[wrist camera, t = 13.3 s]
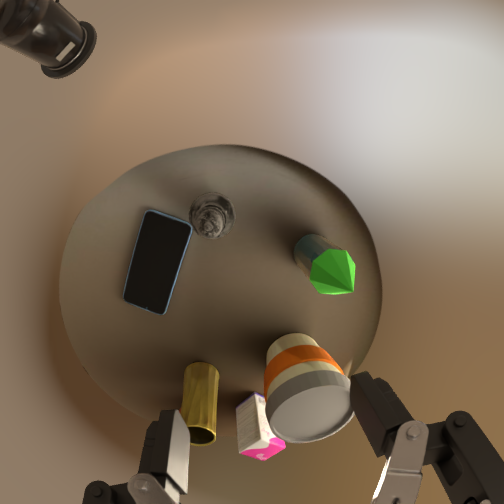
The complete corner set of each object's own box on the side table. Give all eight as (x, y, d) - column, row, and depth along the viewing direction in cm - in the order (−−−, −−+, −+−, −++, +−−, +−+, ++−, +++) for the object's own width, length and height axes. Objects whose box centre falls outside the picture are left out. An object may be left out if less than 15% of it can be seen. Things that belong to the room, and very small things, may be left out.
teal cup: (291, 237, 40) (308, 254, 32) (327, 230, 40) (353, 245, 32) (295, 273, 42) (312, 298, 33) (330, 266, 42) (355, 288, 33)
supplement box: (234, 407, 48) (237, 453, 37) (254, 390, 47) (261, 437, 36) (256, 418, 49) (263, 462, 38) (277, 402, 49) (287, 447, 38)
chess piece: (189, 230, 39) (174, 253, 27) (195, 188, 37) (181, 193, 26) (231, 236, 39) (233, 261, 28) (238, 194, 38) (243, 202, 26)
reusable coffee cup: (340, 349, 46) (374, 405, 32) (288, 391, 48) (306, 452, 34) (295, 309, 43) (325, 367, 29) (240, 358, 45) (246, 425, 30)
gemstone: (351, 241, 32) (376, 255, 26) (358, 287, 33) (380, 307, 28) (304, 255, 32) (320, 273, 26) (313, 301, 33) (329, 326, 27)
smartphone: (194, 225, 38) (164, 317, 41) (195, 224, 38) (165, 315, 42) (144, 207, 36) (120, 301, 39) (146, 206, 37) (122, 299, 40)
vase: (193, 355, 44) (184, 418, 30) (225, 369, 45) (227, 432, 32) (179, 378, 45) (168, 439, 31) (209, 391, 46) (207, 452, 33)
